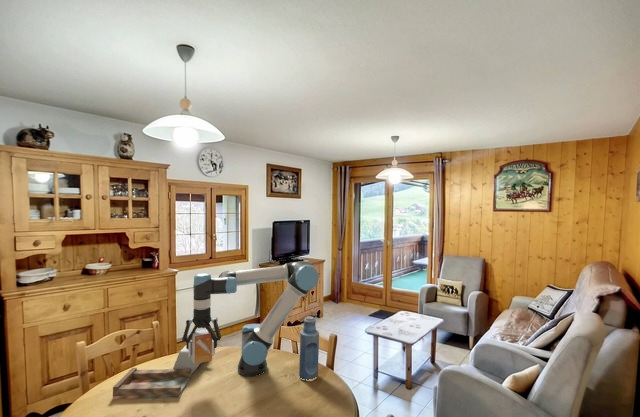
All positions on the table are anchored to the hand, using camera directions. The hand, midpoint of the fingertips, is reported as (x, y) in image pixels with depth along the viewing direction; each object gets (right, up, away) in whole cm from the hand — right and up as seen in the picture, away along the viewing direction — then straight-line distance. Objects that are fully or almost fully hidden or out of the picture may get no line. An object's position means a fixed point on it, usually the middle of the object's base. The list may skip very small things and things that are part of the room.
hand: (201, 355), depth 150 cm
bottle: (+49, -17, +12) cm, 53 cm away
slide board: (-22, -15, 0) cm, 26 cm away
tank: (-12, -16, +22) cm, 29 cm away
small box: (0, -2, 0) cm, 2 cm away
